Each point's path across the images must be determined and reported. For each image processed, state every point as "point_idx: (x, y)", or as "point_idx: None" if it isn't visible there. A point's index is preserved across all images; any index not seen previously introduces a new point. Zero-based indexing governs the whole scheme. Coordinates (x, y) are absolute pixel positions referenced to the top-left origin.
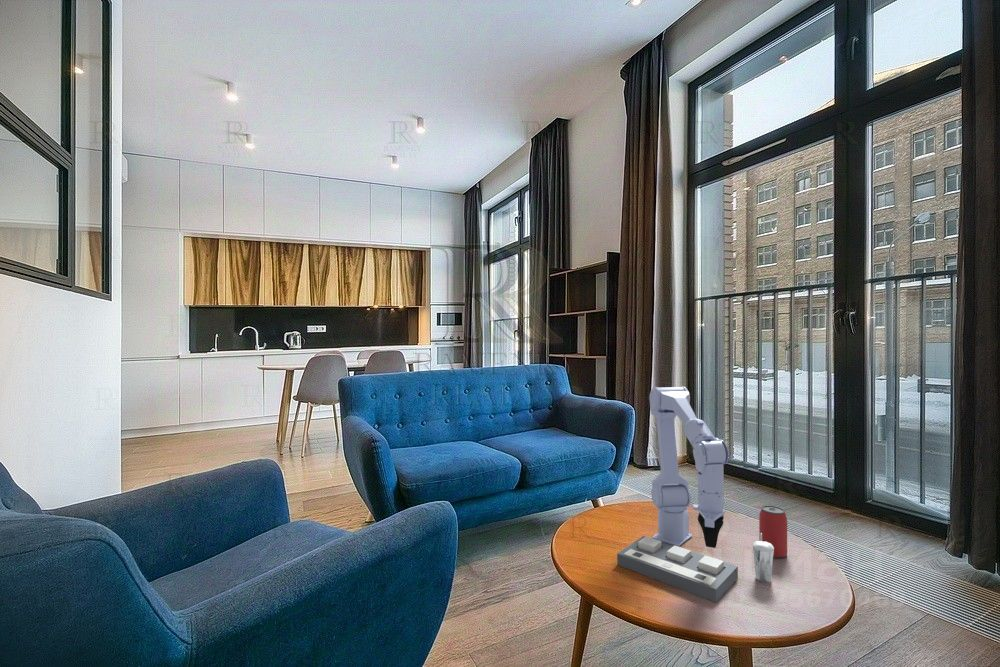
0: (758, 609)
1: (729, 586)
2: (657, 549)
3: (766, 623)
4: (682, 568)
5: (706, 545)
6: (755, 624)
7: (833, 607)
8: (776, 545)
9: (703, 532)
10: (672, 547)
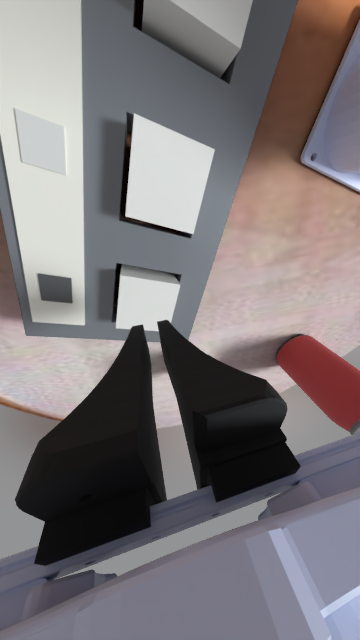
0: (84, 373)
1: None
2: (186, 43)
3: (46, 390)
4: (67, 220)
5: (130, 330)
6: (25, 381)
7: (161, 421)
8: (290, 373)
9: (108, 370)
10: (189, 141)
